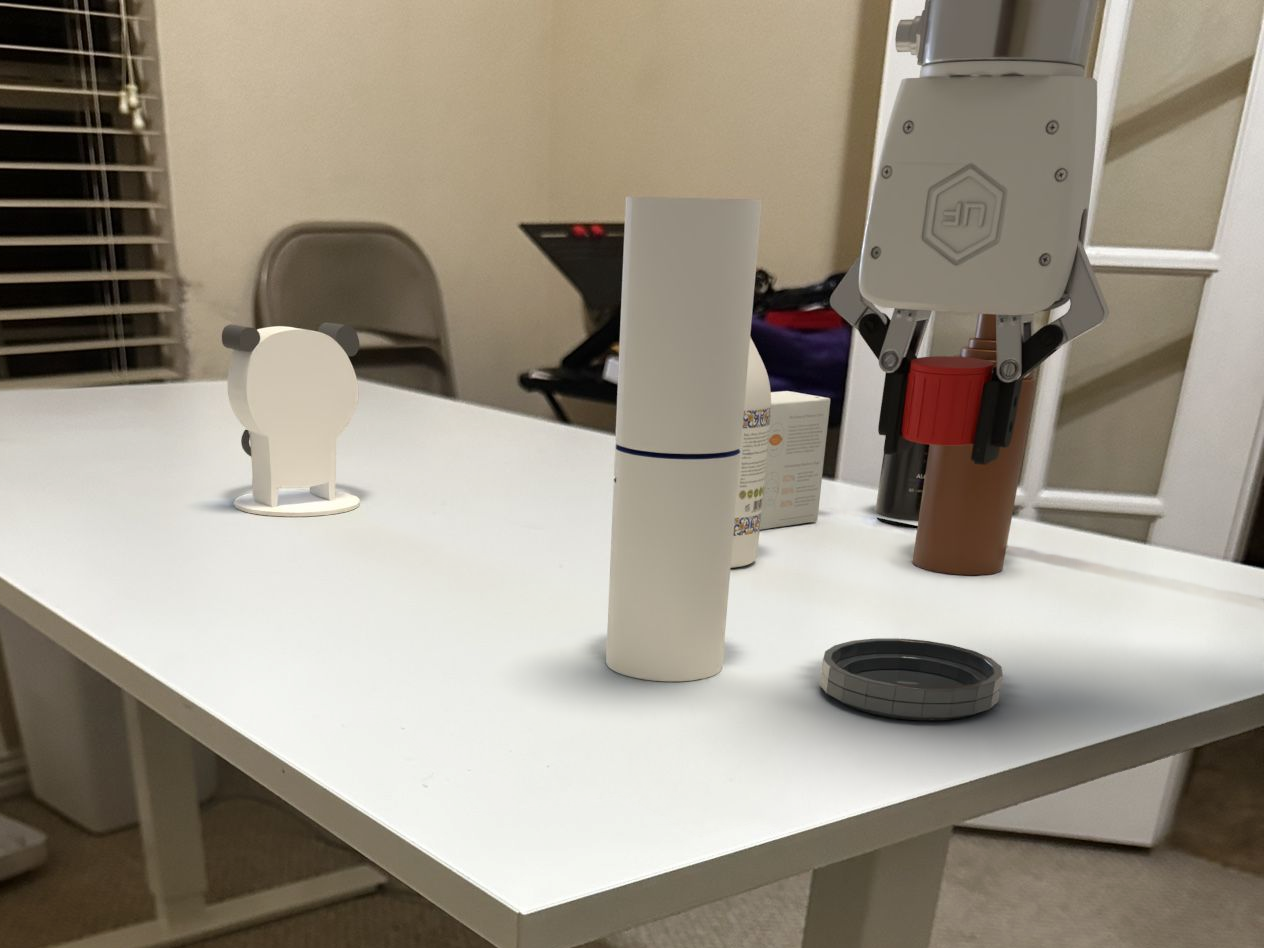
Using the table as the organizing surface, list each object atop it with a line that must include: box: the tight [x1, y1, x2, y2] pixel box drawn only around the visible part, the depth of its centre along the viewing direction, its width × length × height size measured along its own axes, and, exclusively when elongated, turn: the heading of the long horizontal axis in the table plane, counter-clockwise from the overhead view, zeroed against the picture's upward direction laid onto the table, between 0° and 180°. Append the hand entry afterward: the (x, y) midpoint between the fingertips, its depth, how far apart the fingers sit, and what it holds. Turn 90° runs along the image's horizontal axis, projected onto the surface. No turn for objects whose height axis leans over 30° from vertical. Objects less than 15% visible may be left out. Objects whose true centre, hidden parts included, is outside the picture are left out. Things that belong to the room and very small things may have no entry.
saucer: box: [819, 637, 1004, 721], centre depth 79 cm, size 10×10×2 cm
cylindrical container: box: [605, 196, 763, 682], centre depth 78 cm, size 7×7×25 cm
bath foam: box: [730, 336, 772, 569], centre depth 104 cm, size 7×7×20 cm
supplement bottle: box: [874, 442, 930, 530], centre depth 121 cm, size 7×7×12 cm
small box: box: [759, 390, 831, 531], centre depth 120 cm, size 8×6×10 cm
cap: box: [901, 355, 993, 446], centre depth 71 cm, size 4×4×4 cm
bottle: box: [912, 313, 1038, 576], centre depth 105 cm, size 7×7×20 cm
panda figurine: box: [221, 321, 361, 517], centre depth 122 cm, size 12×11×15 cm
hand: (941, 452), depth 73 cm, fingers closed on cap, 4 cm apart
